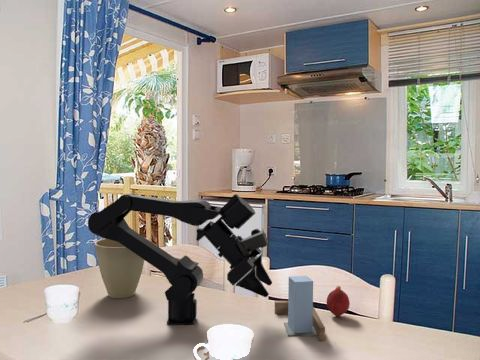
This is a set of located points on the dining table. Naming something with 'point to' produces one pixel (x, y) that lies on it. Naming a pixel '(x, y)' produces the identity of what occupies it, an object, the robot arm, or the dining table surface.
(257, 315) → the dining table surface
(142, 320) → the dining table surface
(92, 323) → the dining table surface
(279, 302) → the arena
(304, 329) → the block
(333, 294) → the onion
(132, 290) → the plant pot
